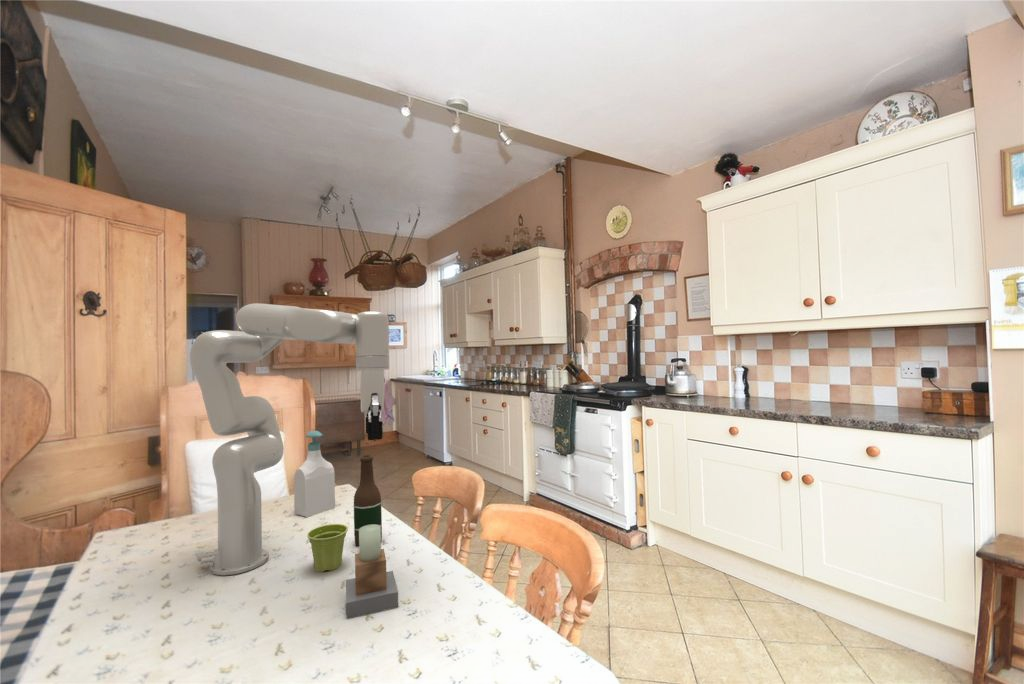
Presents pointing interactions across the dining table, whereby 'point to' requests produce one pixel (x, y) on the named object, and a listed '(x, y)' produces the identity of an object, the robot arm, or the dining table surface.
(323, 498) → the soap bottle
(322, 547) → the plant pot
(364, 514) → the beer bottle
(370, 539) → the tin
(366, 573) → the cube
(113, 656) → the dining table surface
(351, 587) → the plinth
